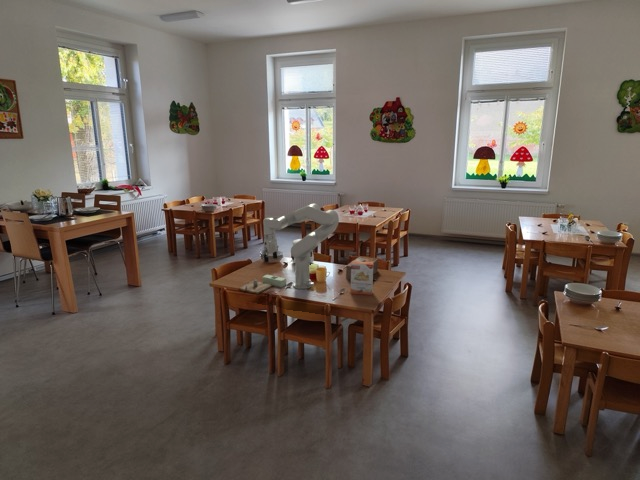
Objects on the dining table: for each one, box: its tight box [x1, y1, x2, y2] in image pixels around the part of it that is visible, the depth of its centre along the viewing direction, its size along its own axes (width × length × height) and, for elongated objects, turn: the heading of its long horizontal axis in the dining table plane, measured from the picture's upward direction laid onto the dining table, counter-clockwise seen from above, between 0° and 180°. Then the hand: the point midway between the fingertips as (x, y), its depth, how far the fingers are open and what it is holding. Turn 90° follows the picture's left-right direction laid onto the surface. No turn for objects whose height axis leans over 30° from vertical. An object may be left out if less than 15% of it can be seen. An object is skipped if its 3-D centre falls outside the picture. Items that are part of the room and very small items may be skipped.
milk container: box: [291, 238, 315, 265], centre depth 334 cm, size 17×17×18 cm
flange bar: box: [261, 274, 287, 288], centre depth 291 cm, size 16×5×4 cm, turn 61°
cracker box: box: [349, 260, 374, 296], centre depth 272 cm, size 14×6×21 cm, turn 80°
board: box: [238, 279, 273, 295], centre depth 282 cm, size 16×16×6 cm
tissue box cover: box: [345, 256, 379, 280], centre depth 308 cm, size 26×14×10 cm, turn 153°
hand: (270, 260), depth 289 cm, fingers open, 9 cm apart
